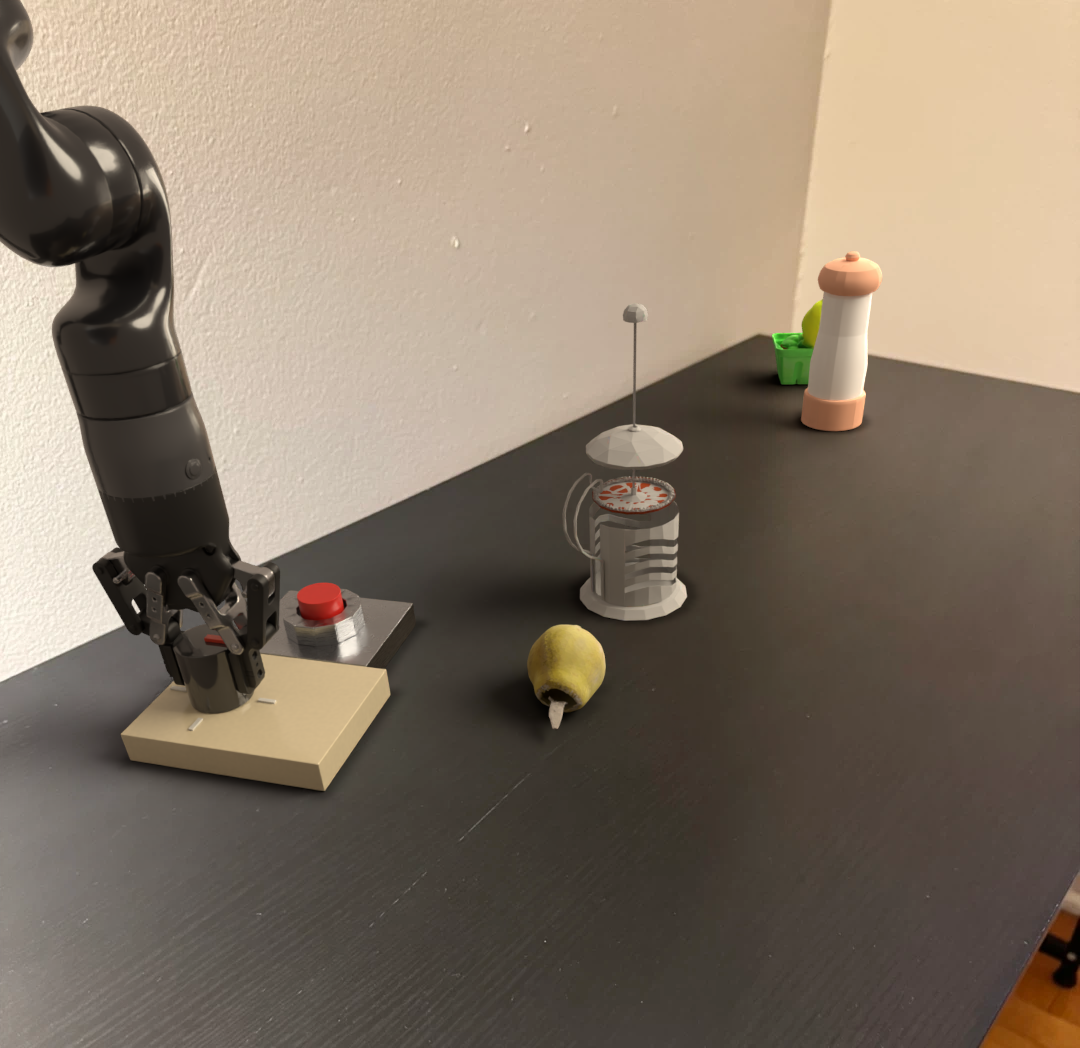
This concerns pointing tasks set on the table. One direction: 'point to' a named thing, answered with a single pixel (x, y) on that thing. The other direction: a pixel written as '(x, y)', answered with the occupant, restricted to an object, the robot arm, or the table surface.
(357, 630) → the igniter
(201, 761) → the panel
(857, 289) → the salt shaker
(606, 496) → the french press
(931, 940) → the table surface
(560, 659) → the fruit
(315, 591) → the button
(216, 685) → the knob
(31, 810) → the table surface
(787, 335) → the fruit basket
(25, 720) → the table surface
